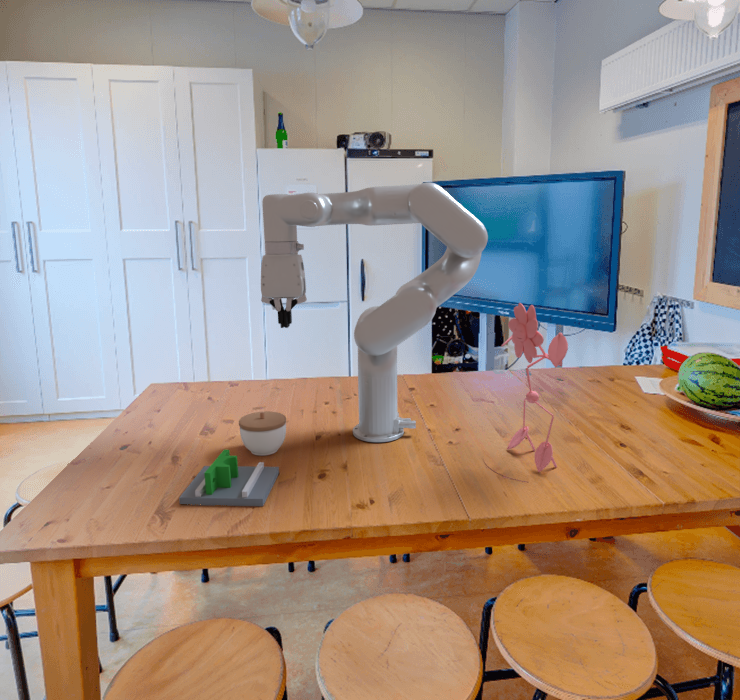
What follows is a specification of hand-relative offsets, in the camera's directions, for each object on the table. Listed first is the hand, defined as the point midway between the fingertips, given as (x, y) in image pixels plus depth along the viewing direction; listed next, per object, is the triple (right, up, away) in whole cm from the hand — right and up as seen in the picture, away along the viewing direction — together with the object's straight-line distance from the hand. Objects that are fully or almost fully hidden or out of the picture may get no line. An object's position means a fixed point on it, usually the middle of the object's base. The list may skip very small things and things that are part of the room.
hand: (285, 326), depth 137 cm
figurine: (+52, -30, -12) cm, 62 cm away
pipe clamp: (-9, -32, -23) cm, 40 cm away
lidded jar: (-4, -29, -4) cm, 30 cm away
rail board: (-7, -33, -22) cm, 41 cm away
